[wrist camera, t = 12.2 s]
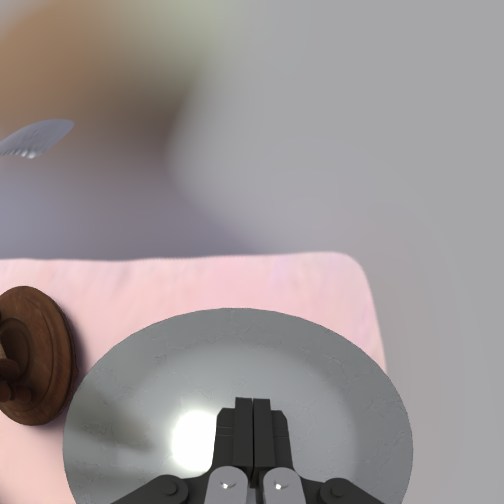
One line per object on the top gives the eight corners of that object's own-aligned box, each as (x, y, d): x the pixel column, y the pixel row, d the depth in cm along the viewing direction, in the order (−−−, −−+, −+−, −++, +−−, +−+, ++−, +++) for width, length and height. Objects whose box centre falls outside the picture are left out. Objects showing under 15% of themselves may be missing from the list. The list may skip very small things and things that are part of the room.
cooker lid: (375, 565, 7) (393, 582, 4) (88, 553, 6) (70, 570, 3) (400, 318, 15) (427, 304, 13) (91, 296, 15) (67, 278, 12)
